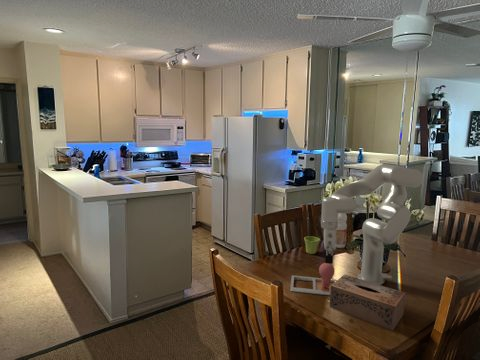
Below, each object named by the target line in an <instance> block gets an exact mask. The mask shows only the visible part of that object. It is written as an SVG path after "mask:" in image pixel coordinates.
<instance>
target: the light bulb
mask: <svg viewBox="0 0 480 360" xmlns="http://www.w3.org/2000/svg"><path fill="white" fill-rule="evenodd" d="M318 272H319V273H318V274H319V275H320V278H322V286H323V287H329V286H330V281H331V279H333V277H334V275H335V273H336V272H335V268H334V265H332V264H328V263H325V262H323V263H322V264H321V265H320V266H319V267H318Z"/></svg>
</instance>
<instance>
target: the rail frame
mask: <svg viewBox="0 0 480 360" xmlns="http://www.w3.org/2000/svg"><path fill="white" fill-rule="evenodd" d="M296 280H297V281H306V282H312V288H304V287H295V286H294V284H295V283H294V282H295V281H296ZM337 280H338V279H333V278H331V281H330V286H329V287H323V286H322V277H320V278H319V277H313V276H312V277H311V276H302V275H291V279H290V292H296V293H303V294H304V293H305V294H314V295H322V296H323V295H324V296H330V291H331V285H332V284H333V283H335V282H336V281H337Z"/></svg>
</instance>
